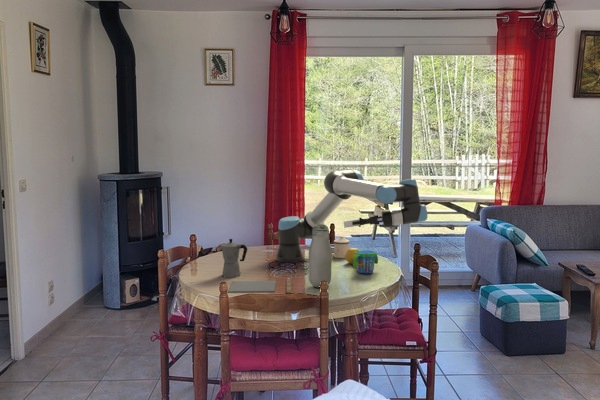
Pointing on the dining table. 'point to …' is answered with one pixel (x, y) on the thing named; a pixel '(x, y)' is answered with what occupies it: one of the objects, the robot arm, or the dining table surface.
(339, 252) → the teacup with lid
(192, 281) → the dining table surface
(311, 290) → the dining table surface
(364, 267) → the snack cup
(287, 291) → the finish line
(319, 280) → the grey green rounded cylinder
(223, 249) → the coffeepot
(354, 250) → the dumbbell
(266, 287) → the mat
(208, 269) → the dining table surface
